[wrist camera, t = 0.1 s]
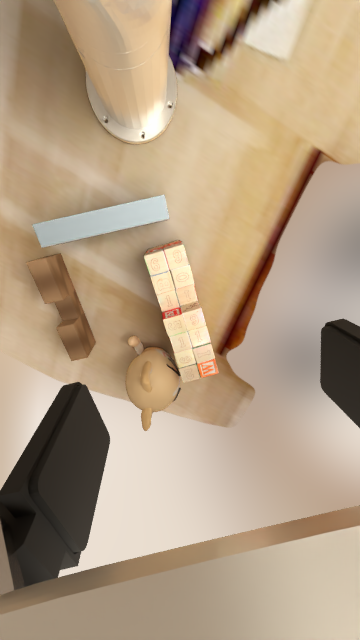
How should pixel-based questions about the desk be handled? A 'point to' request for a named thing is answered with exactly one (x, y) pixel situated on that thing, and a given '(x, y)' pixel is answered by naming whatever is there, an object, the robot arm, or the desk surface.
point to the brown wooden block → (63, 304)
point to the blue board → (102, 221)
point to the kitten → (151, 380)
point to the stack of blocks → (181, 310)
